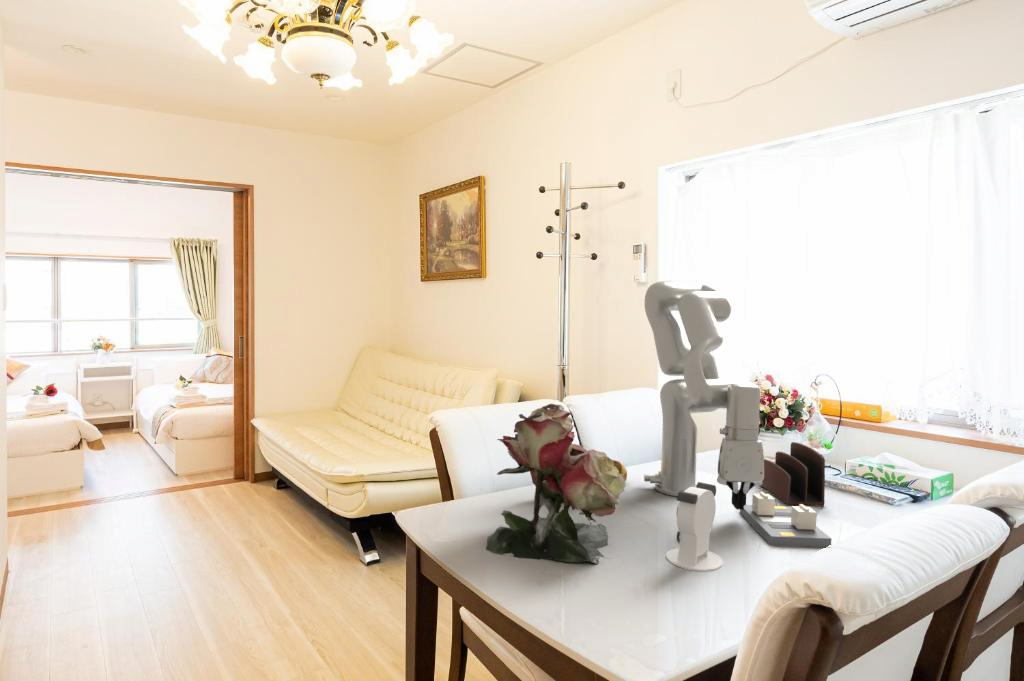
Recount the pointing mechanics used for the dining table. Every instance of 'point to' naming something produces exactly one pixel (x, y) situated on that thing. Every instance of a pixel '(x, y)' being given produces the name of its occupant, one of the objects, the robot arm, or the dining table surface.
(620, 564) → the dining table surface
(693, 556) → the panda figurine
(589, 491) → the rose bouquet
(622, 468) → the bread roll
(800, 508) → the switch tab
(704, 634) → the dining table surface
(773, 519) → the switch panel
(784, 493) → the letter holder
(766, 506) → the switch tab
